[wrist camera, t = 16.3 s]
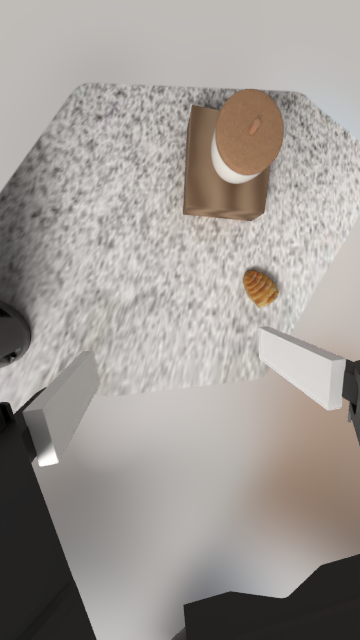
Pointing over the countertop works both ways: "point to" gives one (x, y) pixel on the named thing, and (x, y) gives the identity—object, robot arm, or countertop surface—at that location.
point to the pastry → (260, 288)
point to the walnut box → (216, 177)
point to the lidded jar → (246, 136)
